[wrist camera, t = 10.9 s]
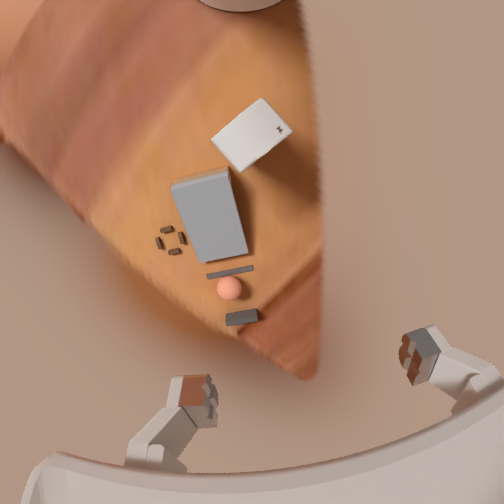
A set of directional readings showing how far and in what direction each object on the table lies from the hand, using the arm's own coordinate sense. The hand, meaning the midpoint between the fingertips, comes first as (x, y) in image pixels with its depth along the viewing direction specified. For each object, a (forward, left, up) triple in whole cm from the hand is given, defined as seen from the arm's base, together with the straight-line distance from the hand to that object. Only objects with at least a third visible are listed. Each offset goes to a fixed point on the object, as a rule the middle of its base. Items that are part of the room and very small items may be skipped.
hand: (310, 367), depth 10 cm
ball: (+13, -7, -26) cm, 29 cm away
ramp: (+2, -7, -29) cm, 30 cm away
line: (+11, -7, -29) cm, 32 cm away
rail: (+19, -7, -29) cm, 35 cm away
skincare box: (-8, 0, -29) cm, 30 cm away
